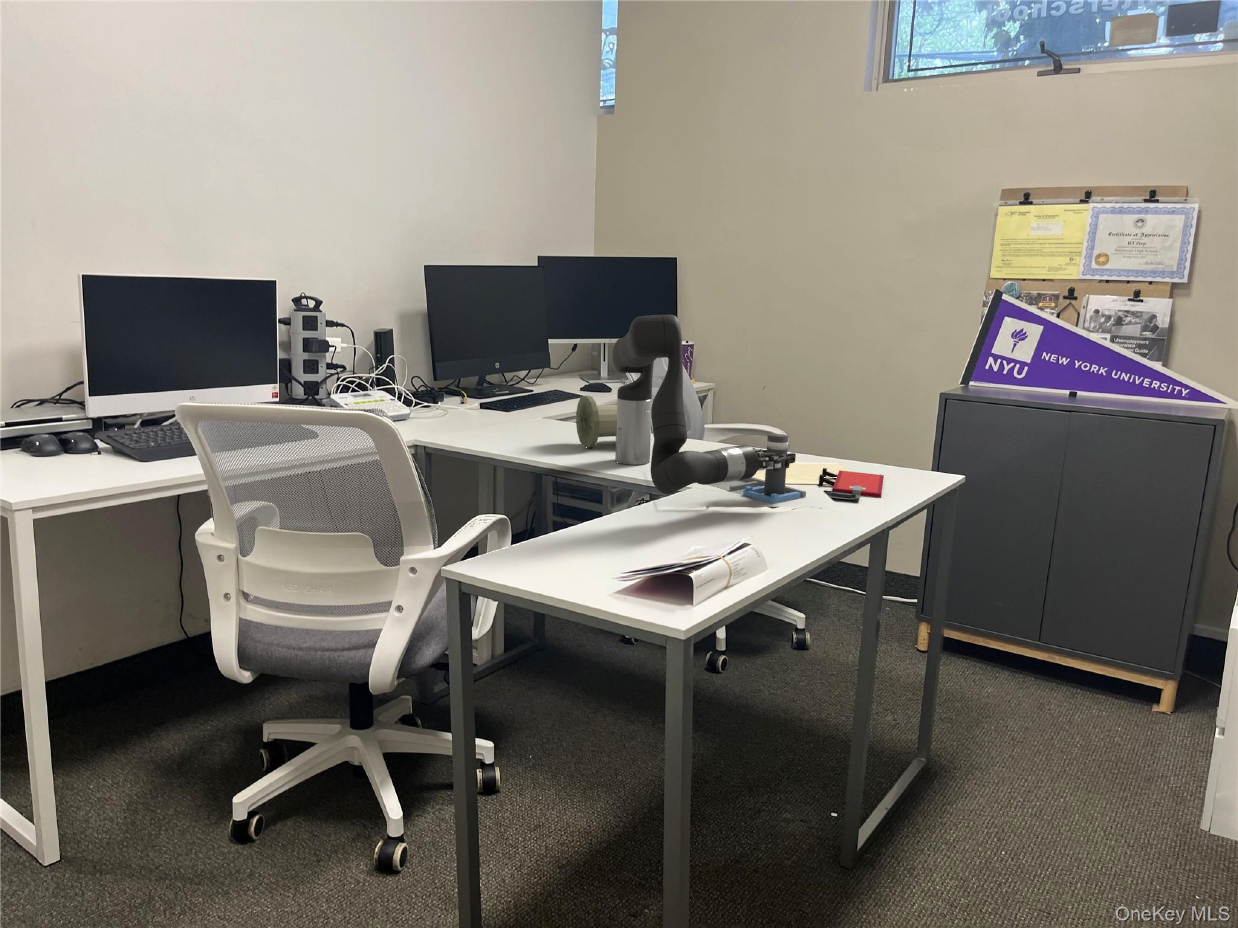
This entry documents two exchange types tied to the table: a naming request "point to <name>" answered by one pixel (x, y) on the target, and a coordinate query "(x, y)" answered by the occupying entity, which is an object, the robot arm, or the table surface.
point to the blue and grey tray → (759, 490)
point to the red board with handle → (852, 484)
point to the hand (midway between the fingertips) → (784, 455)
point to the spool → (594, 421)
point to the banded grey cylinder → (772, 478)
